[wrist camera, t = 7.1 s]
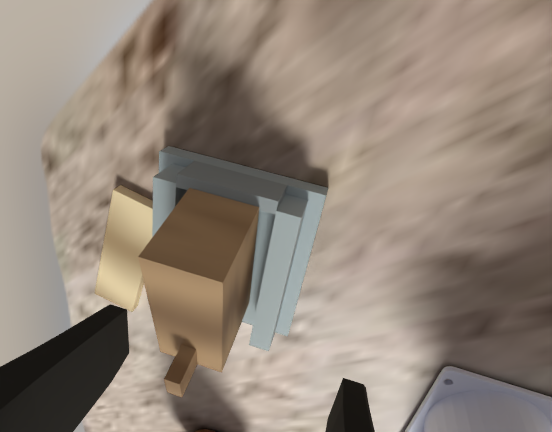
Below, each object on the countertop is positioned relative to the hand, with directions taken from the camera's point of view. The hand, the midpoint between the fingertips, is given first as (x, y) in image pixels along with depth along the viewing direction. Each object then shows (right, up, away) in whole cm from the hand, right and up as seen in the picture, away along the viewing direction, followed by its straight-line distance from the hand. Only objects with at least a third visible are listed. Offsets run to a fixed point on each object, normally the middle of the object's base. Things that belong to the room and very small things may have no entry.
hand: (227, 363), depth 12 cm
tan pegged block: (-1, +3, +8) cm, 9 cm away
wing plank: (-8, +3, +13) cm, 16 cm away
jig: (-1, +3, +10) cm, 11 cm away
